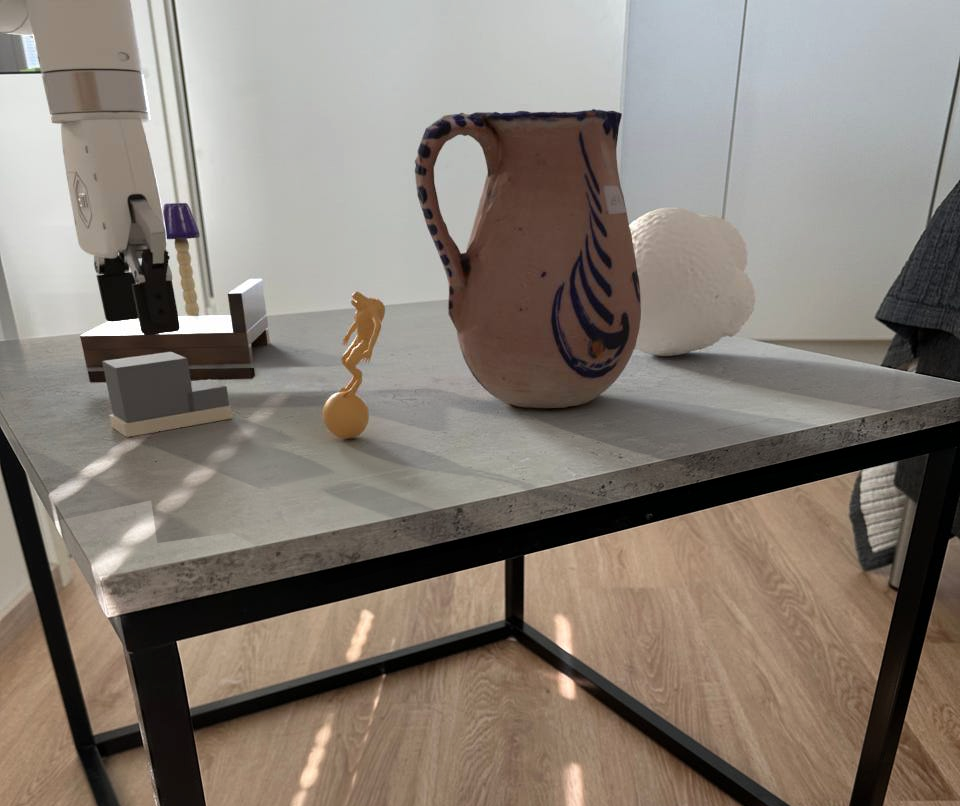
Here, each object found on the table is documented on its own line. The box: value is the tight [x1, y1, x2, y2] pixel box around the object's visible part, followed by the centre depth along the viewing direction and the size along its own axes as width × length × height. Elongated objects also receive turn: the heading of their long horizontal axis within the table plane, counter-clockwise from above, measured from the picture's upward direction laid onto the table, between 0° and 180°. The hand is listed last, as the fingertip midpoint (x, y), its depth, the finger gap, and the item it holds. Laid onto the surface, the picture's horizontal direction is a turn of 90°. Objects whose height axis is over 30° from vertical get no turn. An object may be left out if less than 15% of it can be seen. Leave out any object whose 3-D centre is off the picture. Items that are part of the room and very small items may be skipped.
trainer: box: [102, 352, 233, 438], centre depth 85 cm, size 10×4×6 cm, turn 126°
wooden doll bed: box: [79, 278, 271, 383], centre depth 105 cm, size 18×12×9 cm, turn 91°
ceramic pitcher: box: [414, 108, 641, 409], centre depth 85 cm, size 18×21×25 cm
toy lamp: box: [162, 202, 201, 316], centre depth 119 cm, size 5×5×17 cm
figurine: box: [322, 291, 386, 440], centre depth 78 cm, size 8×6×12 cm
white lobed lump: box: [629, 206, 770, 357], centre depth 107 cm, size 20×18×16 cm
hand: (142, 326), depth 81 cm, fingers open, 9 cm apart
